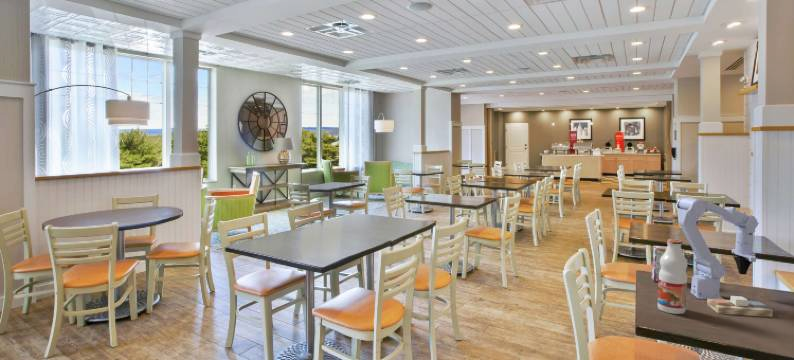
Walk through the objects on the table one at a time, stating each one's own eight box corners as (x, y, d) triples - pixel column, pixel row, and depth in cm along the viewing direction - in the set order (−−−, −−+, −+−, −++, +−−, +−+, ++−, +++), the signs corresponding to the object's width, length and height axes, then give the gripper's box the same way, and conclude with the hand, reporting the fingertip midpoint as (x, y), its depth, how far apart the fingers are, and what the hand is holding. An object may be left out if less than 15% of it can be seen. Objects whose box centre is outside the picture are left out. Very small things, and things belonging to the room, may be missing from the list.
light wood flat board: (718, 313, 167) (718, 307, 167) (706, 304, 176) (707, 298, 176) (772, 317, 163) (772, 310, 163) (758, 307, 172) (758, 301, 172)
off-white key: (735, 305, 168) (736, 299, 168) (730, 301, 172) (730, 295, 172) (747, 306, 167) (748, 300, 167) (741, 302, 171) (742, 296, 171)
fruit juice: (691, 313, 167) (695, 242, 165) (670, 315, 166) (673, 243, 163) (672, 304, 177) (675, 236, 174) (651, 306, 175) (654, 238, 173)
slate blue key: (753, 310, 167) (753, 304, 167) (747, 307, 171) (747, 300, 170) (765, 311, 166) (765, 305, 166) (759, 307, 170) (759, 301, 170)
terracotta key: (717, 308, 169) (718, 302, 169) (712, 304, 173) (713, 298, 173) (729, 309, 169) (730, 303, 168) (724, 305, 172) (724, 299, 172)
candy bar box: (653, 282, 204) (655, 248, 203) (651, 279, 209) (652, 245, 208) (681, 284, 201) (683, 249, 199) (678, 281, 205) (680, 247, 204)
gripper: (765, 247, 176) (763, 279, 177) (745, 239, 190) (743, 269, 191) (745, 246, 178) (743, 278, 179) (727, 238, 192) (725, 268, 193)
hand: (742, 273), depth 185 cm, fingers closed
